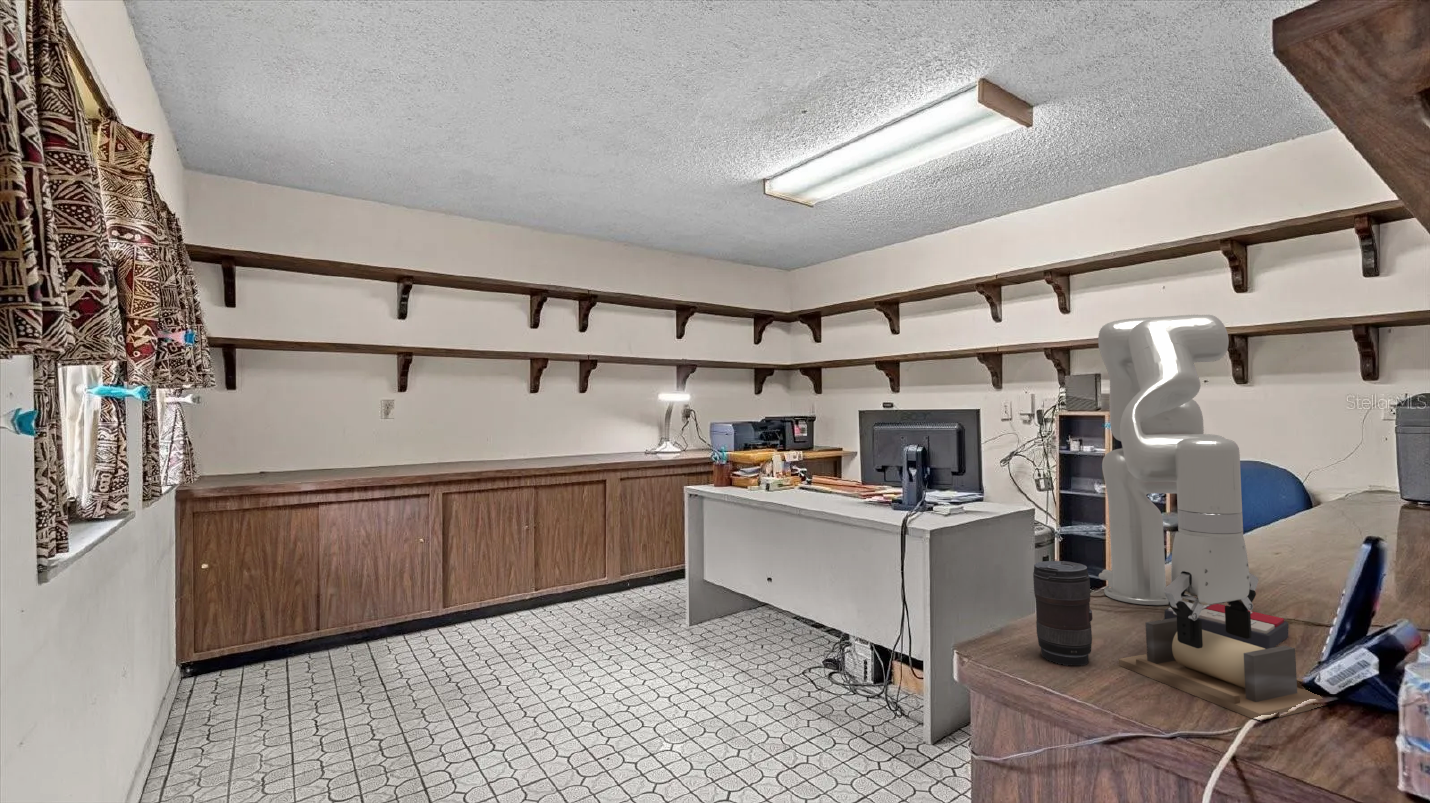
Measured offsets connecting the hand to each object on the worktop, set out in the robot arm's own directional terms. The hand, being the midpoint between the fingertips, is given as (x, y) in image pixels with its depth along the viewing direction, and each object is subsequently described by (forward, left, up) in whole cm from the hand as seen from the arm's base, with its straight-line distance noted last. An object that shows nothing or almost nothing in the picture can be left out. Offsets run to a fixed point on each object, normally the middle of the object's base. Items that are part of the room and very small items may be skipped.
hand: (1214, 640), depth 93 cm
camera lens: (-15, -13, -6) cm, 21 cm away
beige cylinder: (+1, 0, -2) cm, 2 cm away
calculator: (-14, +23, -7) cm, 28 cm away
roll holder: (0, 0, -6) cm, 6 cm away
